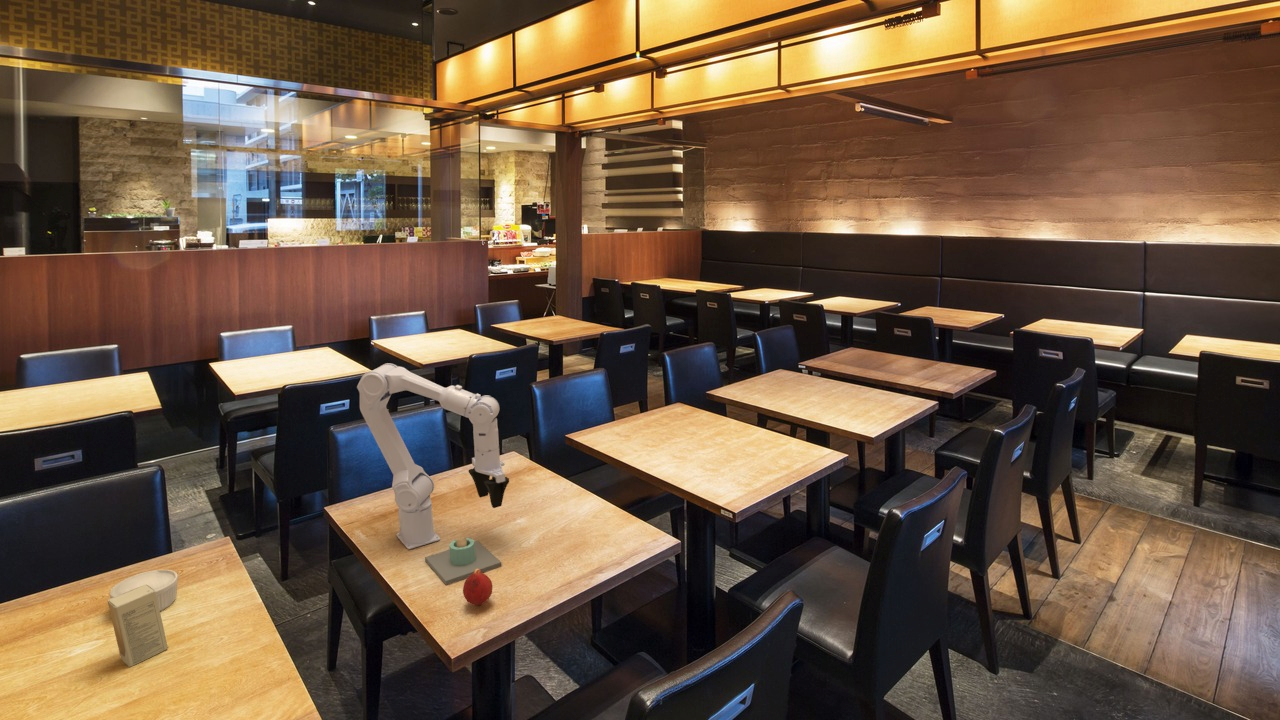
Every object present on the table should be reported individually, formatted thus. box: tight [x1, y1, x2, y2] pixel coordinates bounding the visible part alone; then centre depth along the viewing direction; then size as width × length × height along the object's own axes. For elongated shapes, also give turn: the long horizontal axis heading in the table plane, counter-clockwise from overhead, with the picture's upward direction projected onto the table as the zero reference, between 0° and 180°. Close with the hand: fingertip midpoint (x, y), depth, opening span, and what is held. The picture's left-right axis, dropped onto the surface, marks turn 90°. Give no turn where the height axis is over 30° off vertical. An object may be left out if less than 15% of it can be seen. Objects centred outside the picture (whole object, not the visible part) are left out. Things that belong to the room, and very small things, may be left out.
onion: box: [462, 569, 493, 607], centre depth 134 cm, size 6×6×8 cm
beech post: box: [455, 536, 467, 548], centre depth 150 cm, size 2×2×5 cm
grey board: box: [424, 540, 503, 586], centre depth 151 cm, size 13×13×1 cm
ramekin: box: [109, 569, 179, 612], centre depth 135 cm, size 11×11×5 cm
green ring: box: [448, 537, 475, 566], centre depth 150 cm, size 5×5×4 cm
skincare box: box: [107, 584, 169, 668], centre depth 119 cm, size 6×4×12 cm
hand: (490, 501), depth 159 cm, fingers open, 7 cm apart
